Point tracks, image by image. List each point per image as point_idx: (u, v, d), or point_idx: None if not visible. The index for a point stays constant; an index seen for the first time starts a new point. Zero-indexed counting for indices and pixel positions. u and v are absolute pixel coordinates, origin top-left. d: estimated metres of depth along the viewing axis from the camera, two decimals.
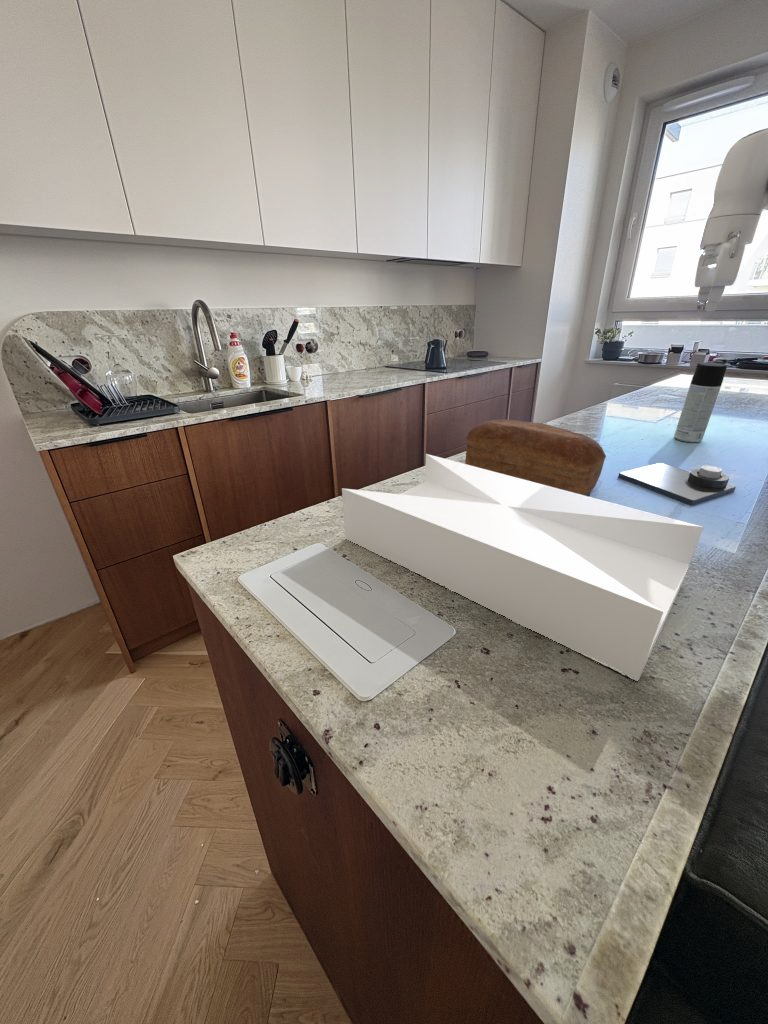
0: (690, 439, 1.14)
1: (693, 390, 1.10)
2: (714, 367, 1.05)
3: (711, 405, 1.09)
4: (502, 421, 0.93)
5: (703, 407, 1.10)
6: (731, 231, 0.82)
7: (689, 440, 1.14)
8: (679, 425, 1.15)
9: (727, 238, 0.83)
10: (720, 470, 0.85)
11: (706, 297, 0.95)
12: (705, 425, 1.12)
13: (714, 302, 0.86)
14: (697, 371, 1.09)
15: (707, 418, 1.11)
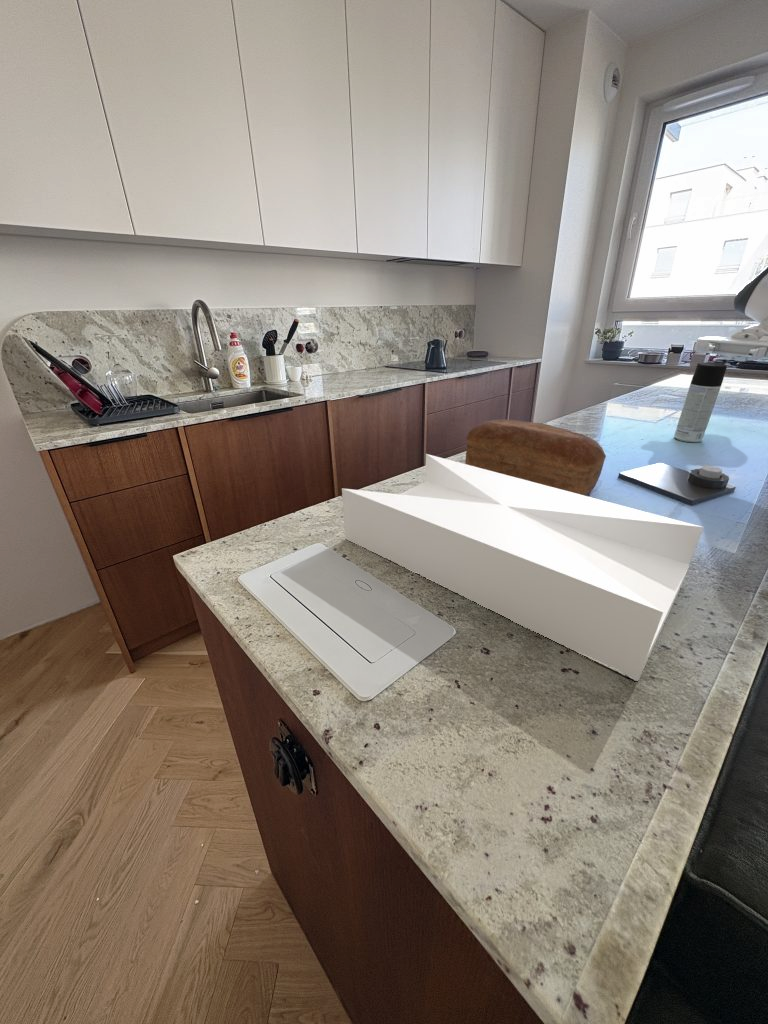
0: (690, 439, 1.14)
1: (693, 390, 1.10)
2: (714, 367, 1.05)
3: (711, 405, 1.09)
4: (502, 421, 0.93)
5: (703, 407, 1.10)
6: None
7: (689, 440, 1.14)
8: (679, 425, 1.15)
9: None
10: (720, 470, 0.85)
11: None
12: (705, 425, 1.12)
13: None
14: (697, 371, 1.09)
15: (707, 418, 1.11)
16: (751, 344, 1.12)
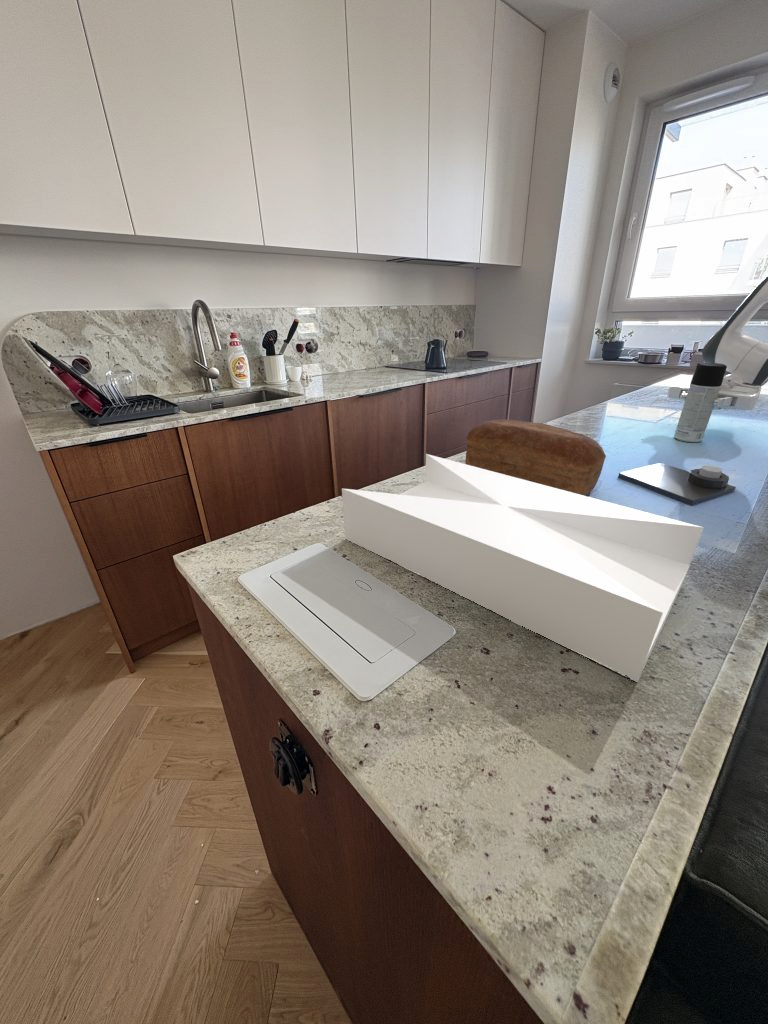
0: (690, 439, 1.14)
1: (693, 390, 1.10)
2: (714, 367, 1.05)
3: (711, 405, 1.09)
4: (502, 421, 0.93)
5: (703, 407, 1.10)
6: None
7: (689, 440, 1.14)
8: (679, 425, 1.15)
9: None
10: (720, 470, 0.85)
11: None
12: (705, 425, 1.12)
13: None
14: (697, 371, 1.09)
15: (707, 418, 1.11)
16: (721, 394, 1.11)
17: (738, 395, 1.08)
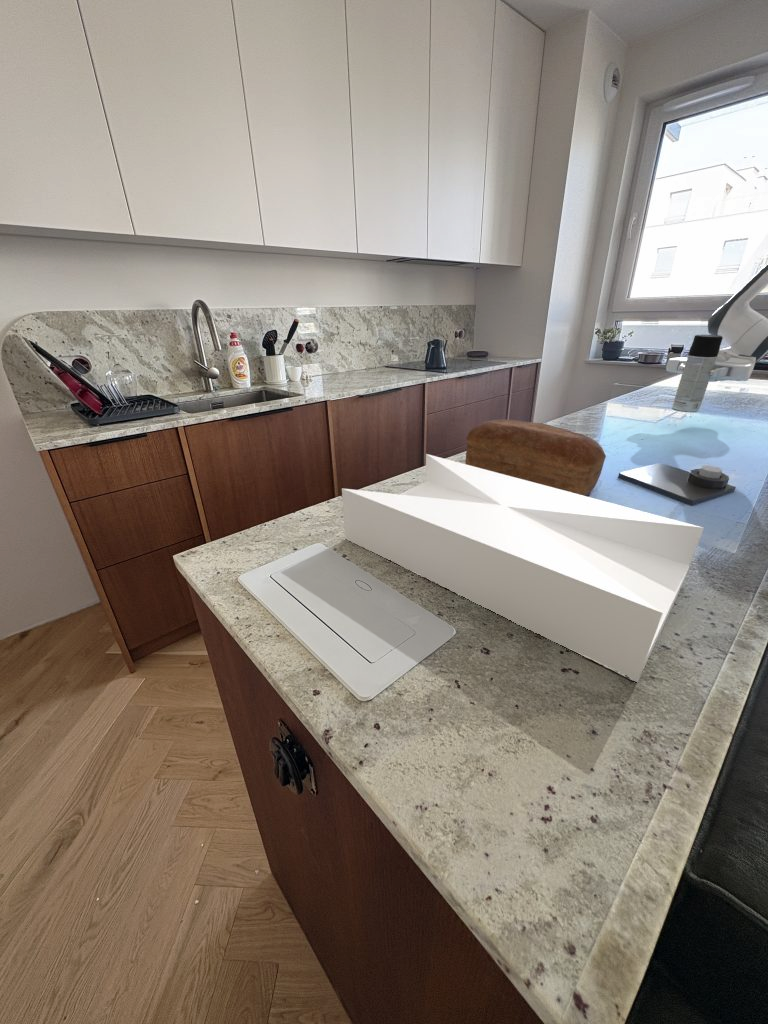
0: (687, 409, 1.18)
1: (690, 361, 1.15)
2: (710, 338, 1.10)
3: (708, 375, 1.14)
4: (502, 421, 0.93)
5: (700, 377, 1.14)
6: None
7: (686, 410, 1.19)
8: (677, 396, 1.20)
9: None
10: (720, 470, 0.85)
11: None
12: (702, 395, 1.17)
13: None
14: (694, 342, 1.13)
15: (704, 388, 1.16)
16: (717, 365, 1.16)
17: (733, 365, 1.13)
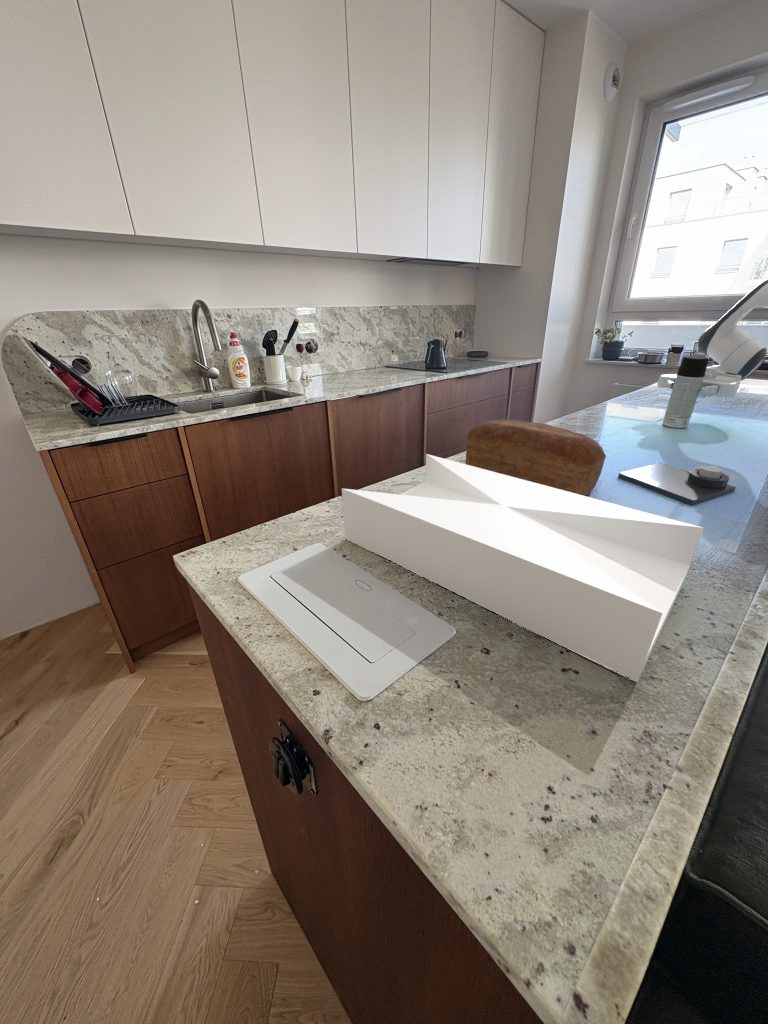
0: (677, 425, 1.26)
1: (679, 381, 1.22)
2: (697, 360, 1.17)
3: (695, 394, 1.21)
4: (502, 421, 0.93)
5: (688, 396, 1.22)
6: None
7: (676, 426, 1.26)
8: (667, 413, 1.27)
9: None
10: (720, 470, 0.85)
11: None
12: (690, 412, 1.24)
13: None
14: (682, 363, 1.21)
15: (691, 406, 1.23)
16: (705, 382, 1.23)
17: (720, 383, 1.20)
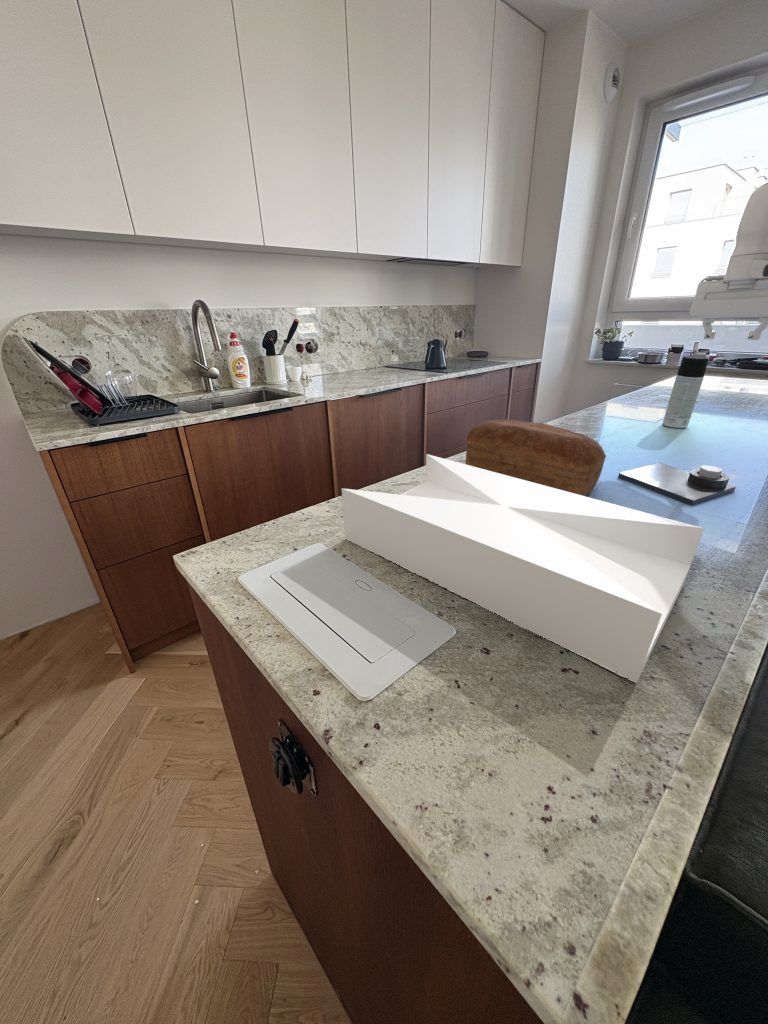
0: (677, 425, 1.26)
1: (678, 381, 1.22)
2: (697, 360, 1.17)
3: (695, 394, 1.21)
4: (502, 421, 0.93)
5: (688, 396, 1.22)
6: None
7: (676, 426, 1.26)
8: (667, 413, 1.27)
9: None
10: (720, 470, 0.85)
11: None
12: (690, 412, 1.24)
13: None
14: (682, 363, 1.21)
15: (691, 406, 1.23)
16: None
17: (766, 315, 0.90)
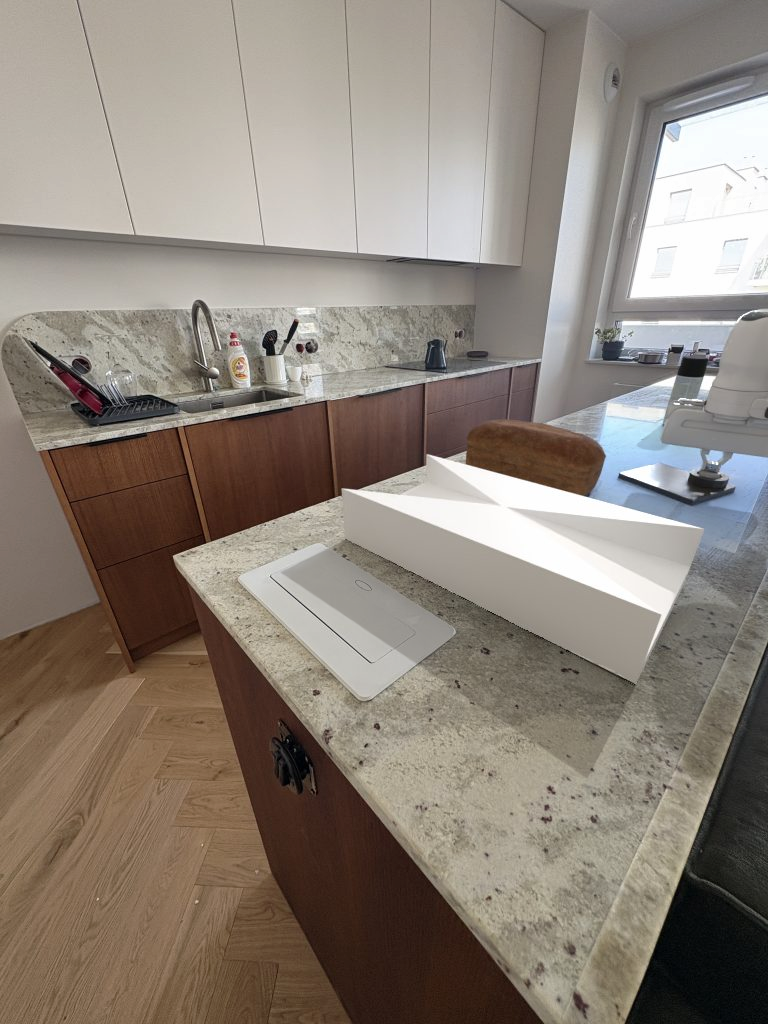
0: None
1: (678, 381, 1.22)
2: (697, 360, 1.17)
3: (695, 394, 1.21)
4: (502, 421, 0.93)
5: (688, 396, 1.22)
6: None
7: None
8: None
9: None
10: (719, 473, 0.85)
11: (721, 461, 0.84)
12: None
13: (703, 462, 0.86)
14: (682, 363, 1.21)
15: None
16: (736, 453, 0.82)
17: (761, 456, 0.80)
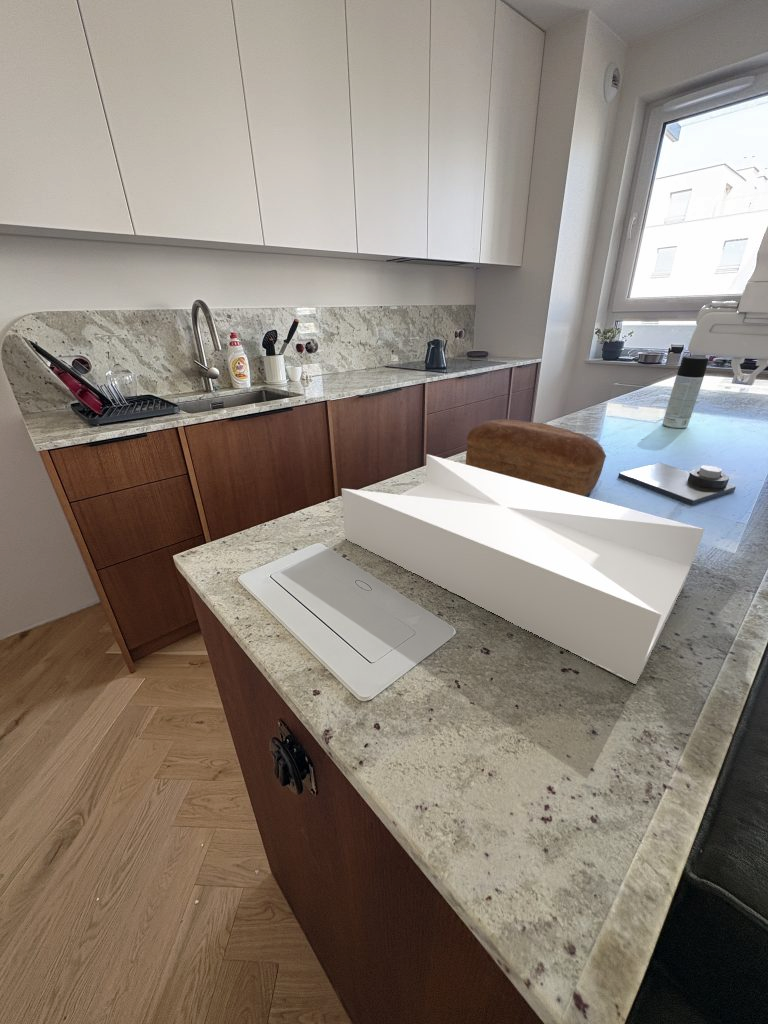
0: (677, 425, 1.26)
1: (678, 381, 1.22)
2: (697, 360, 1.17)
3: (695, 394, 1.21)
4: (502, 421, 0.93)
5: (688, 396, 1.22)
6: None
7: (676, 426, 1.26)
8: (667, 413, 1.27)
9: None
10: (720, 470, 0.85)
11: (754, 371, 0.76)
12: (690, 412, 1.24)
13: None
14: (682, 363, 1.21)
15: (691, 406, 1.23)
16: None
17: None
